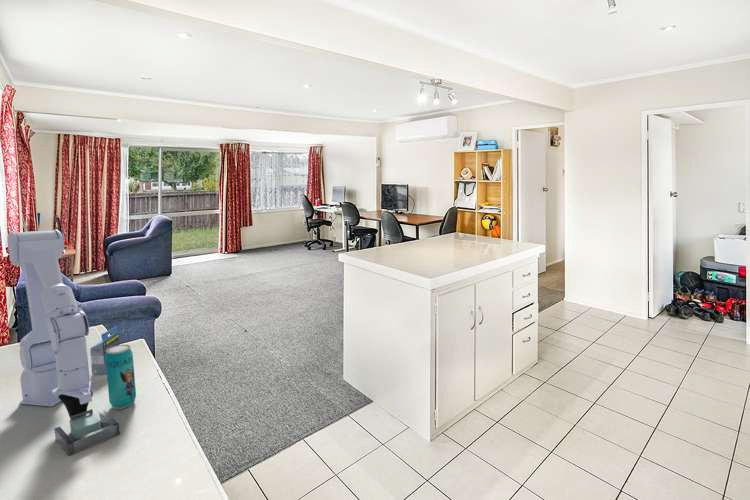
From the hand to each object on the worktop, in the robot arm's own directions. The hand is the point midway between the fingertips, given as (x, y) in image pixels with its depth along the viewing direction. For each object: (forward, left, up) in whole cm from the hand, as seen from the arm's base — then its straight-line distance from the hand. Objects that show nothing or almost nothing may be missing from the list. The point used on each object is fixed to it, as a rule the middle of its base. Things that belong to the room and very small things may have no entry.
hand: (78, 422), depth 92 cm
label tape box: (-18, +28, -1) cm, 33 cm away
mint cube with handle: (+4, -2, -1) cm, 4 cm away
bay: (+5, -3, -1) cm, 6 cm away
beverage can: (+3, +10, -1) cm, 11 cm away
